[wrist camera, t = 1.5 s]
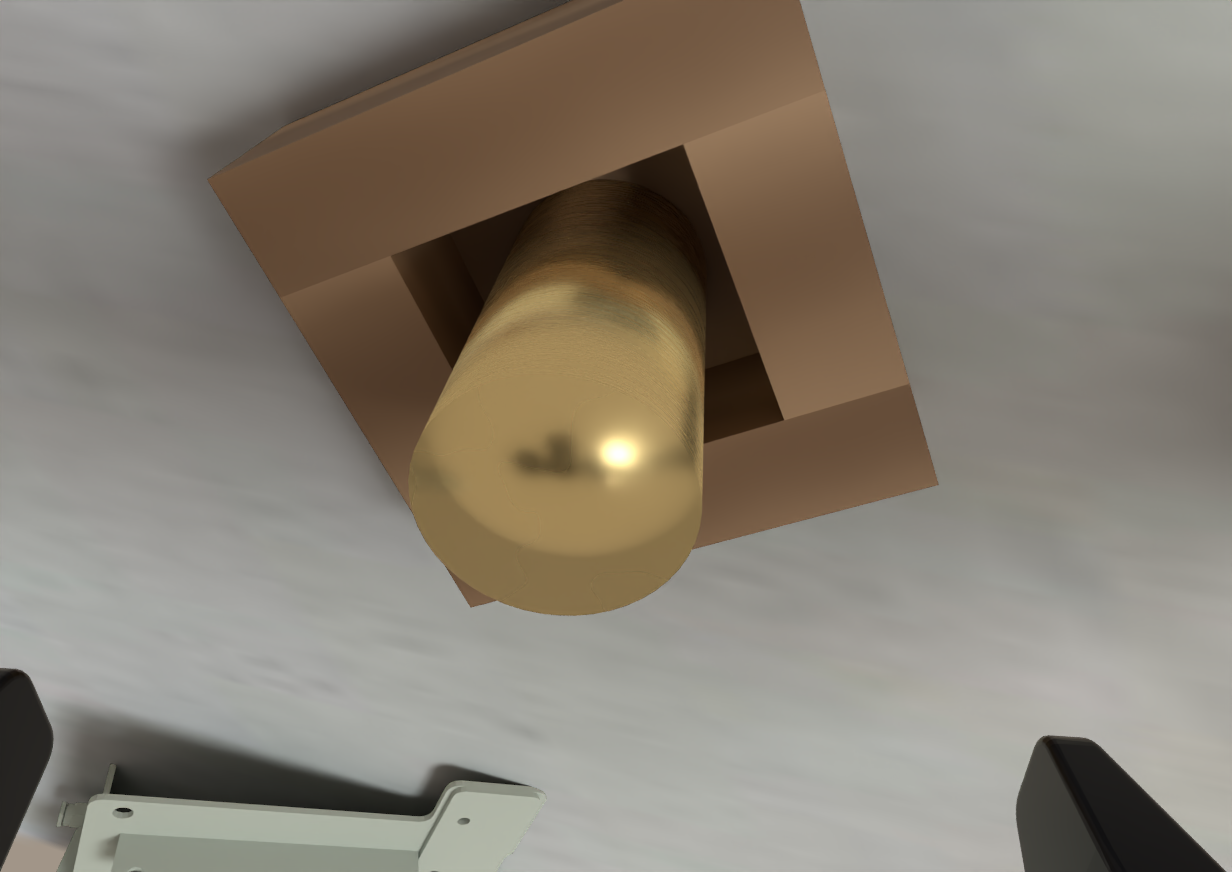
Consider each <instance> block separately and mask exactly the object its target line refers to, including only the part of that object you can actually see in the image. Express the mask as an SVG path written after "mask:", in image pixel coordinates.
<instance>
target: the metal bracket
mask: <svg viewBox="0 0 1232 872" xmlns="http://www.w3.org/2000/svg"><path fill="white" fill-rule="evenodd" d="M115 769H116V765H113V764H110V767H109V771H108V775H107V779H106V783H105V787H104V791H103V794H97V795H94V796H92V797H91V798H90V800H89V802H88V803H75V804H68V805H67V802H63V803H62V806H61V810H60V813H59V817H58V821H57V826H56V827H61V825H62V822H63V825H62V826H70V828H78V829H77V830H76V831H75V833H74V835H73V837H72V839H71V842H70V844H69V846H68V848H67V850H66V852H65V854H64V857H63V859H62V861H61V863H60V865H59V867H58V870H57V872H496V871H497V869H498V868H499V866H500V865H501V863H502V862H503V860H504V858H505V857H506V856H508V855H510V854H512V853H513V852H514V850H515V848H516V847H517V845H518V844H519V842H520V841H521V839H522V837H523V836H524V834H525V833H526V831H527V829H528V828H529V826H530V825H531V823H532V822H533V820H534V818H535V817H536V815H537V814H538V812H539V811H540V809H541V807H542V806H543V804H544V803H545V801H546V800H547V798H546V795H545V793H544V792H543V791H541V790H539V789H536V788H534V787H531V786H519V785H508V784H497V783H486V782H474V781H463V780H460V781H453V782H451V783H449V784H448V785H447V786H446V787H445V789H444V791H443V793H442V795H441V797H440V799H439V800H438V802H437V804H436V806H435V808H434V810H433V811H432V812H431V813H430V814H428V815H425V816H406V815H392V814H378V813H365V812H351V811H337V810H324V809H310V808H296V807H283V806H269V805H255V804H241V803H228V802H214V801H200V800H187V799H173V798H159V797H146V796H132V795H118V794H110V790H111V786H112V781H113V777H114V773H115ZM66 806H67V807H66ZM124 807H125V808H129V809H131V810H132V811H130V812H125V813H122V812H118V811H116V810H115V809H117V808H124Z"/></svg>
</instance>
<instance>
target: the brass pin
mask: <svg viewBox="0 0 1232 872" xmlns="http://www.w3.org/2000/svg"><path fill="white" fill-rule="evenodd" d="M706 291H707V267H706V260H705V254H704V251H703V248H702V244H701V242H700V240H699V237H698V235H697V233H696V231H695V229H694V228H693V226H692V225H691V223H690V222H689V220H688V219H687V218H686V217H685V215H684V214H683V213H682V212H681V211H680V210H679V209H678V208H677V207H676V206H675V205H674V204H673V203H672V202H670V201H669V200H668V199H666V198H665V197H663V196H662V195H660V194H659V193H657V192H655V191H653V190H651V189H649V188H647V187H644V186H641V185H639V184H636V183H632V182H628V181H623V180H614V179H595V180H589V181H586V182H583V183H580V184H578V185H575V186H572V187H570V188H567V189H565V190H562V191H559V192H557V193H554V194H552V195H551V196H549V197H548V198H546V199H545V200H544V201H543V202H542V203H541V204H539V205H538V206H537V207H536V208H535V210H534V211H533V212H532V213H531V214H530V215H529V217H528V218H527V220H526V221H525V223H524V224H523V226H522V228H521V230H520V232H519V234H518V236H517V238H516V241H515V243H514V245H513V247H512V249H511V251H510V253H509V255H508V257H507V259H506V261H505V263H504V265H503V267H502V269H501V271H500V274H499V276H498V278H497V280H496V282H495V284H494V286H493V288H492V290H491V292H490V294H489V296H488V298H487V300H486V302H485V304H484V307H483V309H482V311H481V313H480V315H479V317H478V319H477V321H476V323H475V325H474V327H473V329H472V331H471V333H470V335H469V337H468V340H467V342H466V344H465V346H464V348H463V350H462V352H461V354H460V356H459V358H458V360H457V362H456V364H455V366H454V368H453V370H452V373H451V375H450V377H449V379H448V381H447V383H446V385H445V387H444V389H443V391H442V393H441V395H440V397H439V399H438V401H437V403H436V406H435V408H434V410H433V412H432V414H431V416H430V418H429V420H428V422H427V424H426V426H425V428H424V430H423V432H422V434H421V436H420V439H419V441H418V443H417V445H416V447H415V449H414V453H413V456H412V460H411V463H410V470H409V479H408V483H409V498H410V503H411V507H412V512H413V515H414V518H415V520H416V523H417V526H418V528H419V530H420V532H421V534H422V535H423V537H424V539H425V541H426V543H427V544H428V545H429V547H430V548H431V550H432V551H433V552H434V554H435V555H436V556H437V557H438V558H439V559H440V561H441V562H442V563H443V564H444V565H445V566H446V567H447V568H448V569H449V570H450V571H451V572H453V573H454V574H455V575H456V576H457V577H458V578H459V579H461V580H462V581H464V582H465V583H467V584H468V585H469V586H471V587H472V588H474V589H476V590H477V591H479V592H481V593H483V594H485V595H486V596H488V597H490V598H492V599H495V600H497V601H499V602H502V603H504V604H507V605H510V606H513V607H516V608H519V609H522V610H527V611H532V612H536V613H542V614H551V615H573V616H576V615H587V614H596V613H601V612H606V611H611V610H614V609H617V608H620V607H624V606H627V605H629V604H631V603H633V602H636V601H638V600H640V599H642V598H644V597H646V596H647V595H649V594H651V593H652V592H654V591H656V590H657V589H658V588H659V587H661V586H662V585H663V584H664V583H666V582H667V581H668V580H669V579H670V578H671V577H672V576H673V575H674V574H675V573H676V572H677V571H678V570H679V569H680V567H681V566H682V564H683V563H684V562H685V560H686V559H687V557H688V556H689V554H690V552H691V550H692V548H693V546H694V544H695V541H696V538H697V535H698V532H699V529H700V522H701V516H702V486H703V437H704V388H705V339H706Z"/></svg>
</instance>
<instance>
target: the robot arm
mask: <svg viewBox="0 0 1232 872" xmlns="http://www.w3.org/2000/svg"><path fill="white" fill-rule="evenodd" d="M52 748H53V730H52V727H51V724H50V722H49V720H48V717H47V715H46V713H45V710H44V708H43V706H42V703H41V701H40V699H39V697H38V694H37V692H36V690H35V687H34V685H33V683H32V681H31V679H30V677H29V676H28V675H27V674H26V673H24V672H23V671H22V670H18V669H9V668H0V871H1V868H2V866H3V864H4V862H5V860H6V857H7V855H8V853H9V850H10V848H11V846H12V843H13V841H14V839H15V837H16V834H17V832H18V830H19V828H20V825H21V823H22V821H23V818H24V816H25V814H26V812H27V809H28V807H29V805H30V802H31V800H32V798H33V796H34V793H35V791H36V789H37V786H38V784H39V782H40V780H41V777H42V775H43V773H44V770H45V768H46V766H47V764H48V761H49V759H50V756H51V752H52ZM1016 821H1017V828H1018V834H1019V840H1020V846H1021V852H1022V858H1023V863H1024V869H1025V872H1226V871H1225V870H1224V869H1223V868H1222V867H1221V866H1220V865H1219V864H1218V863H1217V862H1216V861H1215V860H1214V859H1213V858H1212V857H1211V856H1210V855H1209V854H1208V853H1207V852H1206V851H1205V850H1204V849H1203V848H1202V847H1201V846H1200V845H1199V844H1198V843H1197V842H1196V841H1195V840H1194V839H1193V838H1192V837H1191V836H1190V835H1189V834H1188V833H1187V832H1186V831H1185V830H1184V829H1183V828H1182V827H1181V826H1180V825H1179V824H1178V823H1177V822H1176V821H1175V820H1174V819H1173V818H1172V817H1171V816H1170V815H1169V814H1168V813H1167V812H1166V811H1165V810H1164V809H1163V808H1162V807H1161V806H1160V805H1159V804H1158V803H1157V802H1156V801H1155V800H1154V799H1153V798H1151V797H1150V796H1149V795H1148V794H1147V793H1146V792H1145V791H1144V790H1143V789H1142V788H1141V787H1140V786H1139V785H1138V784H1137V783H1136V782H1135V781H1134V780H1133V779H1132V778H1131V777H1130V776H1129V775H1128V774H1127V773H1126V772H1125V771H1124V770H1123V769H1122V768H1121V767H1120V766H1119V765H1118V764H1117V763H1116V762H1115V761H1114V760H1113V759H1112V758H1111V757H1110V756H1109V755H1108V754H1107V753H1106V752H1105V751H1104V750H1103V749H1102V748H1101V747H1100V746H1099V745H1098V744H1096V743H1095V742H1093V741H1092V740H1089V739H1087V738H1081V737H1066V736H1050V735H1048V736H1043V737H1042V738H1040V739H1039V740H1038V741H1037V743H1036V745H1035V747H1034V750H1033V753H1032V756H1031V758H1030V761H1029V764H1028V767H1027V770H1026V773H1025V776H1024V779H1023V782H1022V785H1021V788H1020V791H1019V794H1018V798H1017V804H1016Z"/></svg>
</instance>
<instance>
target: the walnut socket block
mask: <svg viewBox="0 0 1232 872" xmlns="http://www.w3.org/2000/svg"><path fill="white" fill-rule="evenodd" d="M595 179H614V180H623V181H628V182H632V183H636V184H639V185H641V186H644V187H647V188H649V189H651V190H653V191H655V192H657V193H659V194H660V195H662V196H663V197H665V198H666V199H668V200H669V201H670V202H672V203H673V204H674V205H675V206H676V207H677V208H678V209H679V210H680V211H681V212H682V213H683V214H684V215H685V217H686V218H687V219H688V220H689V222H690V223H691V225H692V226H693V228H694V229H695V231H696V233H697V235H698V237H699V240H700V242H701V244H702V248H703V251H704V254H705V260H706V267H707V291H706V339H705V388H704V437H703V486H702V516H701V522H700V529H699V532H698V535H697V538H696V541H695V544H694V546H693V548H692V549H695V548H699V547H703V546H707V545H711V544H715V543H718V542H722V541H726V540H730V539H734V538H737V537H741V536H745V535H749V534H753V533H756V532H760V531H764V530H768V529H772V528H776V527H779V526H783V525H787V524H791V523H795V522H798V521H802V520H806V519H810V518H814V517H817V516H821V515H825V514H829V513H833V512H837V511H840V510H844V509H848V508H852V507H856V506H859V505H863V504H867V503H871V502H875V501H878V500H882V499H886V498H890V497H894V496H898V495H901V494H905V493H909V492H913V491H917V490H920V489H924V488H928V487H932V486H936V485H939V484H938V481H937V477H936V474H935V470H934V467H933V463H932V460H931V456H930V453H929V449H928V446H927V442H926V439H925V436H924V432H923V429H922V425H921V422H920V418H919V415H918V411H917V408H916V404H915V401H914V397H913V394H912V390H911V387H910V383H909V380H908V376H907V373H906V369H905V366H904V362H903V359H902V356H901V352H900V349H899V345H898V342H897V338H896V335H895V331H894V328H893V324H892V321H891V317H890V314H889V310H888V307H887V303H886V300H885V296H884V293H883V289H882V286H881V282H880V279H879V275H878V272H877V269H876V265H875V262H874V258H873V255H872V251H871V248H870V244H869V241H868V237H867V234H866V230H865V227H864V223H863V220H862V216H861V213H860V209H859V206H858V202H857V199H856V195H855V192H854V188H853V185H852V182H851V178H850V175H849V171H848V168H847V164H846V161H845V157H844V154H843V150H842V147H841V143H840V140H839V136H838V133H837V129H836V126H835V122H834V119H833V115H832V112H831V108H830V105H829V101H828V98H827V95H826V91H825V88H824V84H823V81H822V77H821V74H820V70H819V67H818V63H817V60H816V56H815V53H814V49H813V46H812V42H811V39H810V35H809V32H808V28H807V25H806V21H805V18H804V15H803V11H802V8H801V4H800V1H799V0H572V1H569V2H567V3H565V4H563V5H560V6H558V7H556V8H553V9H551V10H549V11H547V12H544V13H542V14H540V15H537V16H535V17H533V18H531V19H528V20H526V21H524V22H521V23H519V24H517V25H515V26H512V27H510V28H508V29H505V30H503V31H501V32H498V33H496V34H494V35H492V36H489V37H487V38H485V39H482V40H480V41H478V42H476V43H473V44H471V45H469V46H466V47H464V48H462V49H460V50H457V51H455V52H453V53H450V54H448V55H446V56H444V57H441V58H439V59H437V60H434V61H432V62H430V63H428V64H425V65H423V66H421V67H418V68H416V69H414V70H411V71H409V72H407V73H405V74H402V75H400V76H398V77H395V78H393V79H391V80H389V81H386V82H384V83H382V84H379V85H377V86H375V87H373V88H370V89H368V90H366V91H363V92H361V93H359V94H357V95H354V96H352V97H350V98H347V99H345V100H343V101H341V102H338V103H336V104H334V105H331V106H329V107H327V108H325V109H322V110H320V111H318V112H315V113H313V114H311V115H308V116H306V117H304V118H302V119H299V120H297V121H295V122H292V123H290V124H288V125H286V126H284V127H282V128H281V129H279V130H278V131H277V132H275V133H274V134H272V135H271V136H269V137H268V138H266V139H265V140H264V141H262V142H261V143H259V144H258V145H256V146H255V147H253V148H252V149H251V150H249V151H248V152H246V153H245V154H243V155H242V156H240V157H239V158H238V159H236V160H235V161H233V162H232V163H230V164H229V165H227V166H226V167H225V168H223V169H222V170H220V171H219V172H217V173H216V174H214V175H213V176H212V177H210V178H209V179H207V180H208V182H209V183H210V185H211V187H212V188H213V190H214V191H215V193H216V195H217V196H218V198H219V200H220V201H221V203H222V204H223V206H224V208H225V209H226V211H227V213H228V214H229V216H230V217H231V219H232V221H233V222H234V224H235V226H236V227H237V229H238V230H239V232H240V234H241V235H242V237H243V239H244V240H245V242H246V243H247V245H248V247H249V248H250V250H251V252H252V253H253V255H254V256H255V258H256V260H257V261H258V263H259V265H260V266H261V268H262V269H263V271H264V273H265V274H266V276H267V278H268V279H269V281H270V282H271V284H272V286H273V287H274V289H275V291H276V292H277V294H278V295H279V297H280V299H281V300H282V302H283V303H284V305H285V307H286V308H287V310H288V312H289V313H290V315H291V316H292V318H293V320H294V321H295V323H296V325H297V326H298V328H299V329H300V331H301V333H302V334H303V336H304V338H305V339H306V341H307V342H308V344H309V346H310V347H311V349H312V351H313V352H314V354H315V355H316V357H317V359H318V360H319V362H320V364H321V365H322V367H323V368H324V370H325V372H326V373H327V375H328V377H329V378H330V380H331V381H332V383H333V385H334V386H335V388H336V390H337V391H338V393H339V394H340V396H341V398H342V399H343V401H344V403H345V404H346V406H347V407H348V409H349V411H350V412H351V414H352V416H353V417H354V419H355V420H356V422H357V424H358V425H359V427H360V429H361V430H362V432H363V433H364V435H365V437H366V438H367V440H368V442H369V443H370V445H371V446H372V448H373V450H374V451H375V453H376V454H377V456H378V458H379V459H380V461H381V463H382V464H383V466H384V467H385V469H386V471H387V472H388V474H389V476H390V477H391V479H392V480H393V482H394V484H395V485H396V487H397V489H398V490H399V492H400V493H401V495H402V497H403V498H404V500H405V502H406V503H407V505H408V506H409V508H410V510H411V511H412V507H411V503H410V498H409V483H408V479H409V470H410V463H411V460H412V456H413V453H414V449H415V447H416V445H417V443H418V441H419V439H420V436H421V434H422V432H423V430H424V428H425V426H426V424H427V422H428V420H429V418H430V416H431V414H432V412H433V410H434V408H435V406H436V403H437V401H438V399H439V397H440V395H441V393H442V391H443V389H444V387H445V385H446V383H447V381H448V379H449V377H450V375H451V373H452V370H453V368H454V366H455V364H456V362H457V360H458V358H459V356H460V354H461V352H462V350H463V348H464V346H465V344H466V342H467V340H468V337H469V335H470V333H471V331H472V329H473V327H474V325H475V323H476V321H477V319H478V317H479V315H480V313H481V311H482V309H483V307H484V304H485V302H486V300H487V298H488V296H489V294H490V292H491V290H492V288H493V286H494V284H495V282H496V280H497V278H498V276H499V274H500V271H501V269H502V267H503V265H504V263H505V261H506V259H507V257H508V255H509V253H510V251H511V249H512V247H513V245H514V243H515V241H516V238H517V236H518V234H519V232H520V230H521V228H522V226H523V224H524V223H525V221H526V220H527V218H528V217H529V215H530V214H531V213H532V212H533V211H534V210H535V208H536V207H537V206H538V205H539V204H541V203H542V202H543V201H544V200H545V199H546V198H548V197H549V196H551V195H552V194H554V193H557V192H559V191H562V190H565V189H567V188H570V187H572V186H575V185H578V184H580V183H583V182H586V181H589V180H595ZM412 513H413V512H412ZM445 567H446V566H445ZM446 568H447V567H446ZM447 570H448V571H449V573H450V575H451V576H452V578H453V580H454V581H455V583H456V584H457V586H458V588H459V589H460V591H461V592H462V594H463V596H464V597H465V599H466V601H467V602H468V604H469V605H470V607H474V606H478V605H482V604H486V603H490V602H493V601H497V600H495V599H492V598H490V597H488V596H486V595H485V594H483V593H481V592H479V591H477V590H476V589H474V588H472V587H471V586H469V585H468V584H467V583H465V582H464V581H462V580H461V579H459V578H458V577H457V576H456V575H455V574H454V573H453V572H451V571H450V570H449V569H448V568H447Z"/></svg>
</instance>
